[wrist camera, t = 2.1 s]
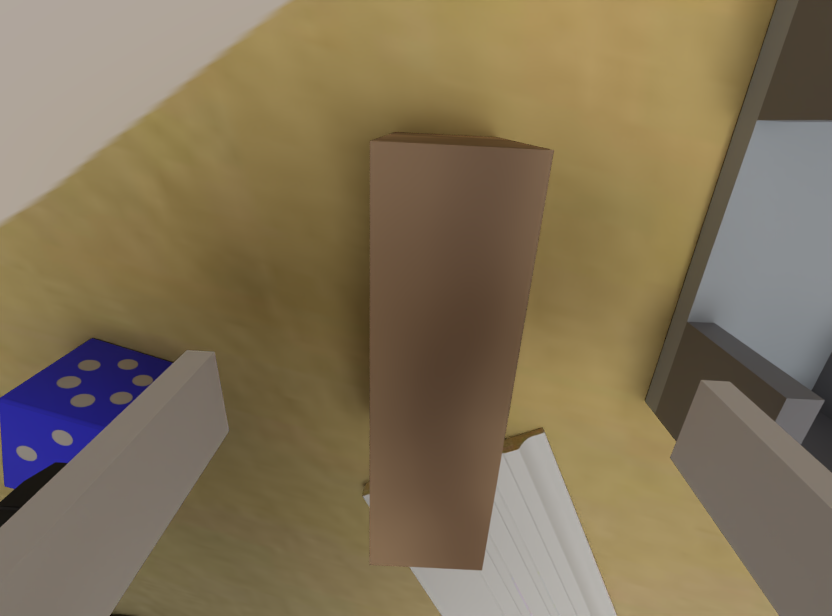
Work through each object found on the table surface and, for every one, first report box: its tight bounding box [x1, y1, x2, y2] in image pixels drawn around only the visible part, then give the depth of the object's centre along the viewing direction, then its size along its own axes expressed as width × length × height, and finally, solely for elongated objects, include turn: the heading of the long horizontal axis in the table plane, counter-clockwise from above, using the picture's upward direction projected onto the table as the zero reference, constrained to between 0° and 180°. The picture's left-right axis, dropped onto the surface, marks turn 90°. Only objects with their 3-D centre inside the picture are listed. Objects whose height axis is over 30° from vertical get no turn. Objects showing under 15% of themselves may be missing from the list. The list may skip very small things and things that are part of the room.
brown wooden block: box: [370, 132, 554, 571], centre depth 16 cm, size 4×14×8 cm, turn 177°
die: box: [0, 338, 173, 489], centre depth 19 cm, size 5×5×5 cm
